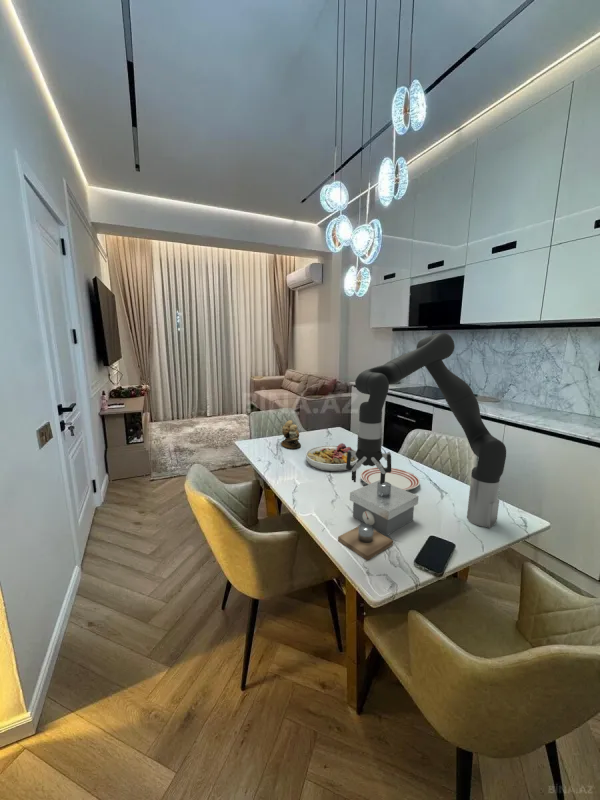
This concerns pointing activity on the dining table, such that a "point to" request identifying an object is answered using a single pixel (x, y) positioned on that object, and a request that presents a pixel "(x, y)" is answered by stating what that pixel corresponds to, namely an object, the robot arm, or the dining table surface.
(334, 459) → the bowl
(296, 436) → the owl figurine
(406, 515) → the scale
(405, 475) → the dinner plate
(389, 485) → the cylinder
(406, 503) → the pan
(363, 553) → the walnut board
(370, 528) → the cylinder
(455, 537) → the dining table surface
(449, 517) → the dining table surface
